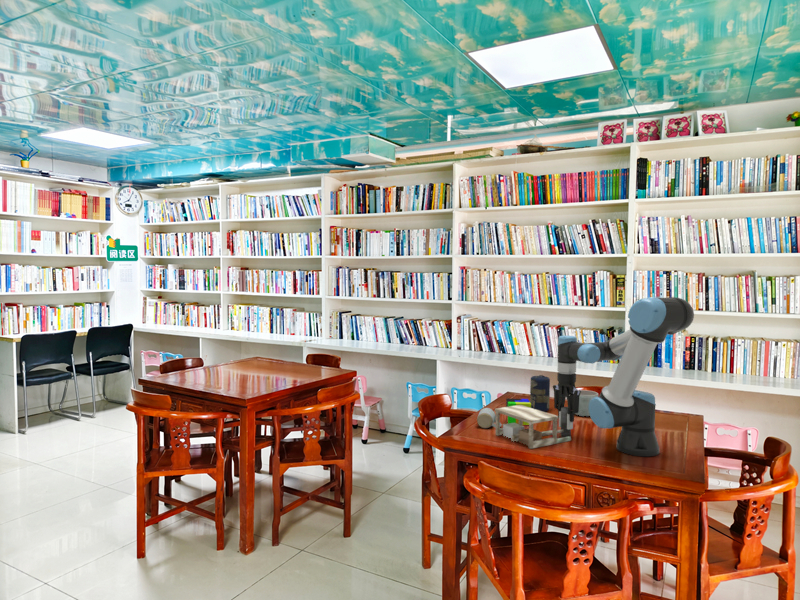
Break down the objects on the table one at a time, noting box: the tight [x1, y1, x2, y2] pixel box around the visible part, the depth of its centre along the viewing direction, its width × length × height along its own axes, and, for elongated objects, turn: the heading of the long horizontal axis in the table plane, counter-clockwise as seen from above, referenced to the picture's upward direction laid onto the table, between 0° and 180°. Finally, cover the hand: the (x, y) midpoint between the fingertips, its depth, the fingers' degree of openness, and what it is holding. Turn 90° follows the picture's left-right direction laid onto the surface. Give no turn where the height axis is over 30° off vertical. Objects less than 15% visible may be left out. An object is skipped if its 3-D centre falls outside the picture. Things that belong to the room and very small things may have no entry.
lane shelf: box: [494, 405, 572, 450], centre depth 221 cm, size 22×22×11 cm
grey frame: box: [518, 406, 572, 447], centre depth 219 cm, size 25×6×12 cm, turn 120°
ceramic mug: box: [476, 407, 503, 429], centre depth 238 cm, size 11×8×8 cm
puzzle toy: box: [505, 397, 531, 425], centre depth 245 cm, size 10×10×10 cm
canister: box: [529, 374, 551, 412], centre depth 268 cm, size 10×10×18 cm
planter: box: [574, 389, 599, 418], centre depth 259 cm, size 12×12×11 cm
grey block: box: [502, 423, 525, 440], centre depth 223 cm, size 6×6×5 cm
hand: (565, 427), depth 224 cm, fingers closed on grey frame, 4 cm apart
